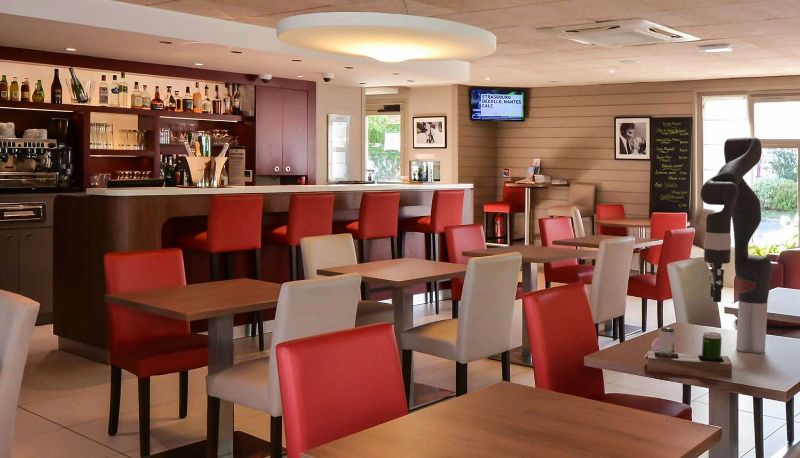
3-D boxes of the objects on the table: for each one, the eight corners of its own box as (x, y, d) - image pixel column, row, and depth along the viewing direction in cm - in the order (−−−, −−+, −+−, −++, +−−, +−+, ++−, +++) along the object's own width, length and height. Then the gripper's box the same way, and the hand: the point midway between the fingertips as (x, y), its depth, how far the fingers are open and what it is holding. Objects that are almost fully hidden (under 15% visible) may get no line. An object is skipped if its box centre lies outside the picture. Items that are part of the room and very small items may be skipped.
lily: (657, 356, 279) (644, 331, 279) (687, 348, 271) (673, 323, 271) (643, 373, 271) (629, 347, 271) (673, 365, 263) (659, 339, 263)
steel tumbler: (657, 366, 258) (659, 326, 257) (673, 367, 257) (675, 327, 256) (657, 370, 254) (659, 329, 252) (674, 371, 252) (676, 330, 251)
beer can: (712, 375, 248) (714, 336, 247) (697, 371, 253) (699, 332, 252) (723, 373, 251) (725, 334, 250) (708, 369, 256) (710, 331, 255)
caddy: (647, 365, 262) (647, 350, 262) (727, 371, 255) (728, 356, 255) (647, 373, 251) (648, 358, 251) (731, 380, 245) (732, 364, 245)
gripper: (702, 244, 259) (700, 295, 260) (706, 249, 245) (704, 303, 246) (727, 244, 257) (726, 296, 258) (733, 250, 243) (731, 304, 244)
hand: (715, 299), depth 252 cm, fingers open, 8 cm apart
